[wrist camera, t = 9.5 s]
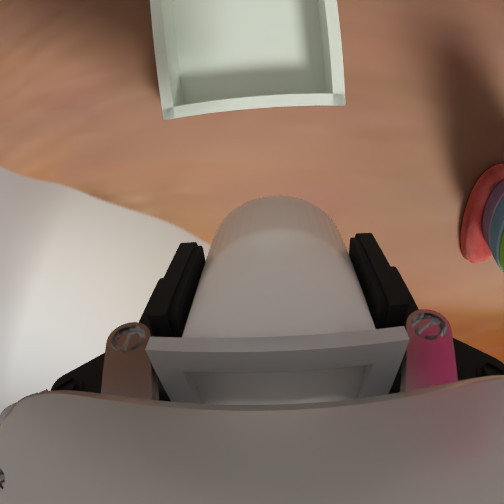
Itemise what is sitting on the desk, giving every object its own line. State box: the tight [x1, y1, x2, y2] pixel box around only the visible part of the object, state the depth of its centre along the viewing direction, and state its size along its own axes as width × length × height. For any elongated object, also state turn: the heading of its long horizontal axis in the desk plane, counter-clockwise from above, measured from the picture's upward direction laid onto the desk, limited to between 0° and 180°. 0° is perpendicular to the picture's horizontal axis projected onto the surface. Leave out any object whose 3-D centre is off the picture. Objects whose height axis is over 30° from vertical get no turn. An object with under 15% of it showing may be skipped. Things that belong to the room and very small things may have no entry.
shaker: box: [145, 196, 409, 405], centre depth 9 cm, size 5×5×7 cm
